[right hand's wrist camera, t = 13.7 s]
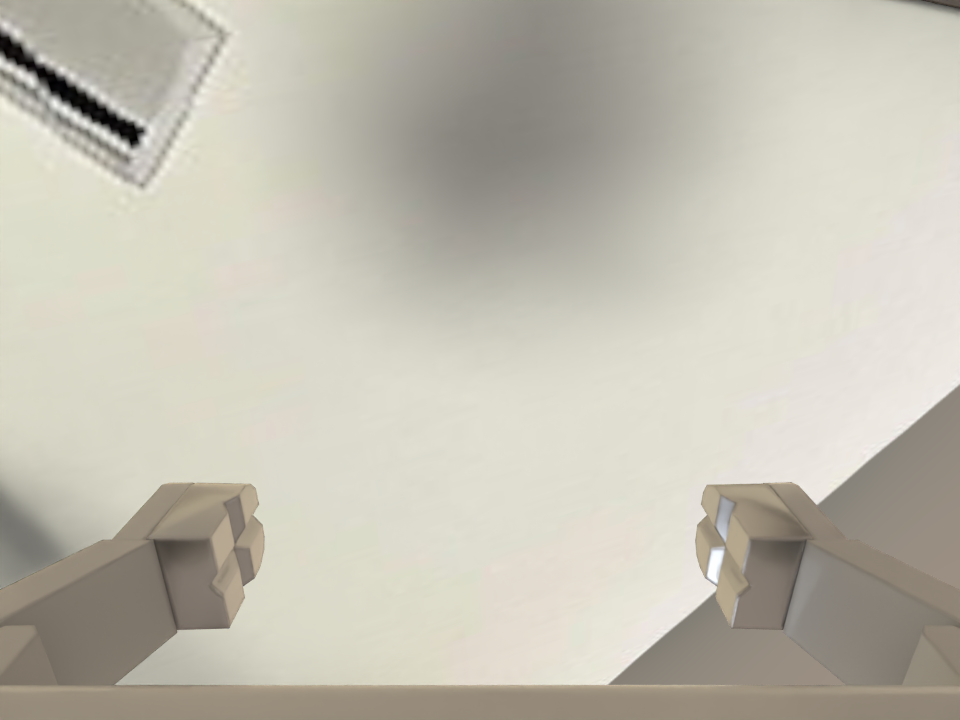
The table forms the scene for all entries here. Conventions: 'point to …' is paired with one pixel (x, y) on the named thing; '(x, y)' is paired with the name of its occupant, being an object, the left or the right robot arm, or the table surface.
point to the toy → (946, 2)
